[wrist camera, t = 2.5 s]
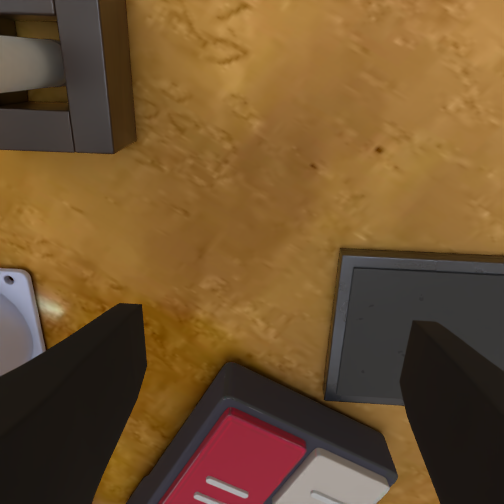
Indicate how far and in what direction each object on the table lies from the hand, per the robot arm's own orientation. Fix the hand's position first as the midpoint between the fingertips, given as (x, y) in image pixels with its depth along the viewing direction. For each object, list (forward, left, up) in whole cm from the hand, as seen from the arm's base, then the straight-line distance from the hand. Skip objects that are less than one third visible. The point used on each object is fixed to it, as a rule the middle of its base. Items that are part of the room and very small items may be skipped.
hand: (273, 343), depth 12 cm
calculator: (-1, -17, -10) cm, 20 cm away
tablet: (+9, -6, -10) cm, 15 cm away
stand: (-10, +7, -10) cm, 16 cm away
